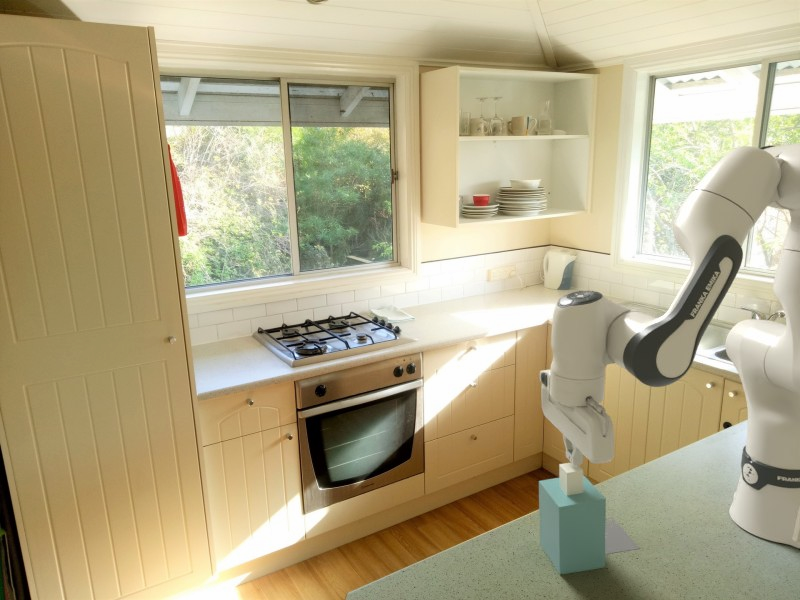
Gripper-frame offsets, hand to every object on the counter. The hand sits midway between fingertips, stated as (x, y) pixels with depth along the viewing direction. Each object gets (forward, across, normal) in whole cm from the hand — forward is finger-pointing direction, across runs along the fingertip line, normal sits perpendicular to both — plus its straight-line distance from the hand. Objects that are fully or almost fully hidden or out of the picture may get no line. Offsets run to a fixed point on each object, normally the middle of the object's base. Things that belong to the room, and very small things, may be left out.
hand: (574, 461), depth 104 cm
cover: (+19, 0, 0) cm, 19 cm away
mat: (+19, +4, -8) cm, 21 cm away
